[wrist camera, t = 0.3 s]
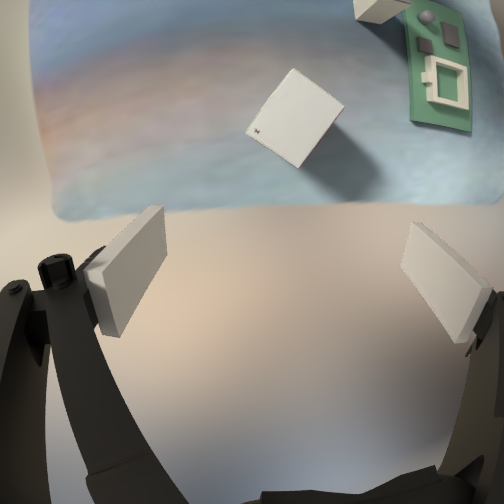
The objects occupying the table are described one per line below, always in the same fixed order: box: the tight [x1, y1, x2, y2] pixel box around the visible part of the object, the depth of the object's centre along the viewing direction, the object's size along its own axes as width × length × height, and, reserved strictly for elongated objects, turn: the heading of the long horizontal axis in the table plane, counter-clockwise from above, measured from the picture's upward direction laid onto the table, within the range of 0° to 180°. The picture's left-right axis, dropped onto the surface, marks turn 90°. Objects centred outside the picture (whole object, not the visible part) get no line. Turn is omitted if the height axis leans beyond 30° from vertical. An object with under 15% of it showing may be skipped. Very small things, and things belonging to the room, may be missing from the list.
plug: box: [353, 0, 412, 24], centre depth 23 cm, size 4×4×10 cm
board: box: [402, 0, 472, 132], centre depth 28 cm, size 22×12×4 cm, turn 3°
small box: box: [245, 68, 345, 169], centre depth 30 cm, size 8×6×13 cm
